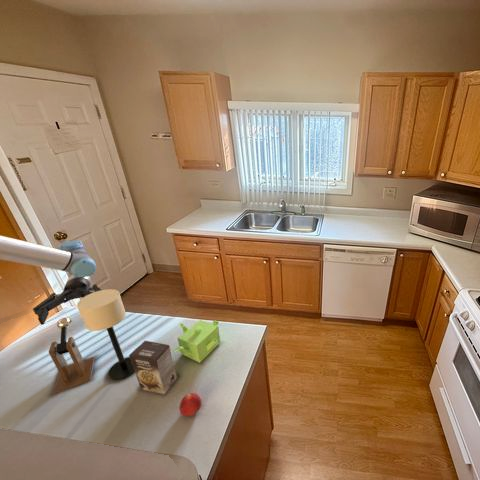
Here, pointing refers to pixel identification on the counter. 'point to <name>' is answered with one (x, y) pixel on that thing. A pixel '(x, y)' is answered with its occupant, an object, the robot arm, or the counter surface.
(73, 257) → the robot arm
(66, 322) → the black pendulum
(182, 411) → the red apple
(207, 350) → the cube with spouts
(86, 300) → the desk lamp
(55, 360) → the wooden globe stand
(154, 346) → the coffee box
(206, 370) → the counter surface
